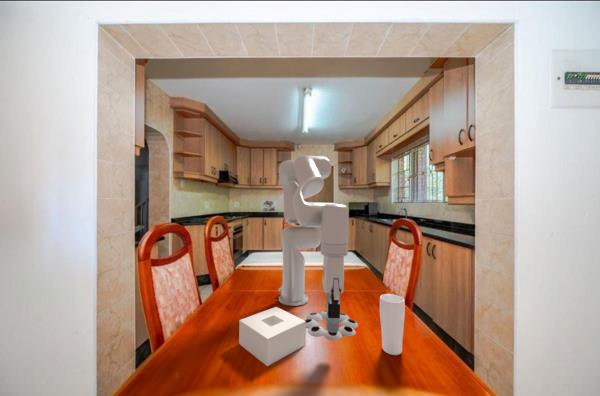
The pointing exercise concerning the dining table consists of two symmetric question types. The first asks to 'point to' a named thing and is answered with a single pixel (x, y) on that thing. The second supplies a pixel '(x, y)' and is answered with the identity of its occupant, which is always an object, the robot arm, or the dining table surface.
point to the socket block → (272, 334)
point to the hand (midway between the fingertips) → (332, 313)
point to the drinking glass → (392, 322)
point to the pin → (331, 321)
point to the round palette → (318, 317)
